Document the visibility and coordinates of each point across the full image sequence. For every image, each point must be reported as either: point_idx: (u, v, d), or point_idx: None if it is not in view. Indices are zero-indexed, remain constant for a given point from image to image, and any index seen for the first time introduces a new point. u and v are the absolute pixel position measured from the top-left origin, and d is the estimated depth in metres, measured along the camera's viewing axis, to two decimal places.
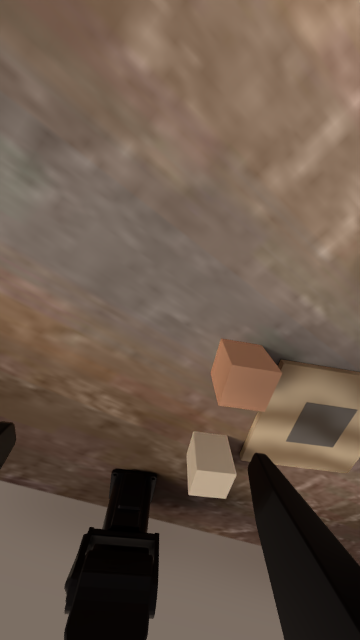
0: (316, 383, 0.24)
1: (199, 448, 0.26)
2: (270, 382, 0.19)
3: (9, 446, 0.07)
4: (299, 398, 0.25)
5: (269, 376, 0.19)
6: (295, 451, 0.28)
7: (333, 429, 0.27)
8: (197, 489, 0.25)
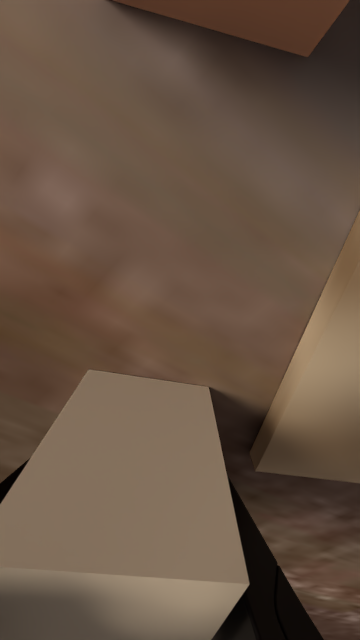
0: None
1: (75, 425, 0.06)
2: None
3: None
4: None
5: None
6: None
7: None
8: None
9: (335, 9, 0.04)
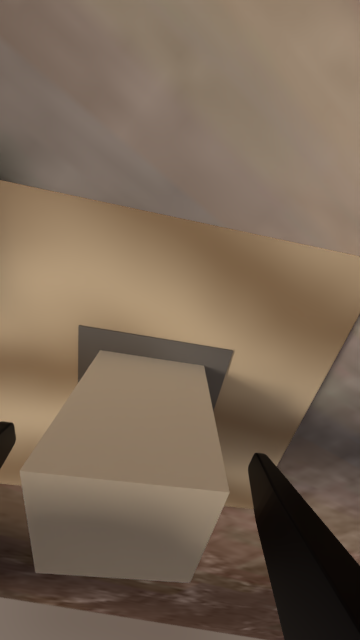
0: (81, 256, 0.08)
1: (92, 390, 0.07)
2: None
3: (9, 446, 0.07)
4: (53, 312, 0.09)
5: None
6: None
7: None
8: (64, 554, 0.06)
9: None
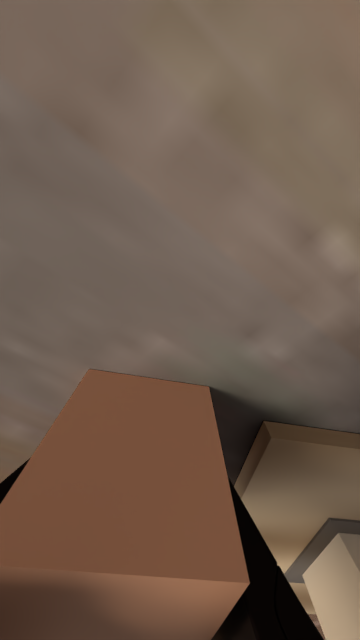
0: (357, 481, 0.09)
1: None
2: (196, 608, 0.04)
3: None
4: (312, 510, 0.10)
5: (185, 594, 0.04)
6: (300, 593, 0.13)
7: None
8: None
9: None
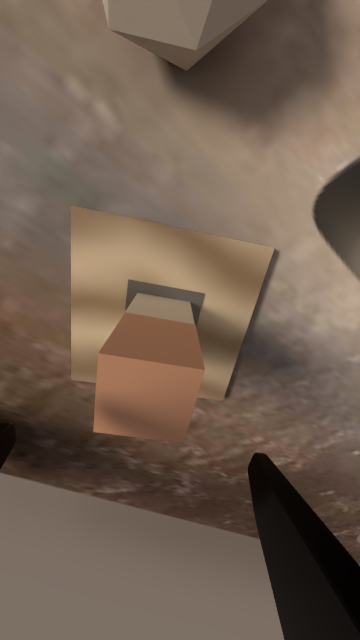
0: (132, 245, 0.17)
1: (139, 302, 0.16)
2: (184, 389, 0.10)
3: (9, 446, 0.07)
4: (116, 272, 0.17)
5: (180, 377, 0.09)
6: None
7: None
8: None
9: None
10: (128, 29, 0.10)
